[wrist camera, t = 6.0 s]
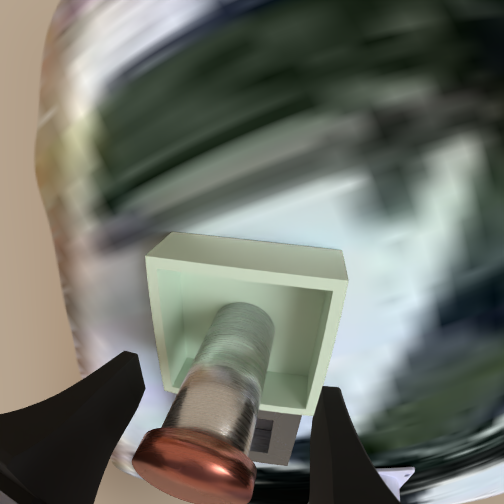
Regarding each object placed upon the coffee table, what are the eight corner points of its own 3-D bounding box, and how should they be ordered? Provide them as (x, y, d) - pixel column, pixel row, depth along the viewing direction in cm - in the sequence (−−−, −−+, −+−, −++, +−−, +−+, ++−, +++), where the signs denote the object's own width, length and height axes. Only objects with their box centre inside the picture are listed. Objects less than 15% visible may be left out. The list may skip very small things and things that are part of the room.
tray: (315, 378, 17) (313, 416, 15) (181, 357, 18) (164, 390, 16) (342, 250, 14) (348, 280, 12) (172, 231, 15) (145, 255, 13)
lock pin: (279, 362, 17) (248, 514, 9) (207, 351, 17) (145, 489, 9) (286, 300, 15) (254, 472, 7) (205, 290, 16) (118, 437, 8)
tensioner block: (290, 444, 20) (287, 465, 19) (197, 428, 21) (189, 448, 20) (305, 382, 18) (303, 408, 16) (190, 364, 19) (179, 387, 17)
